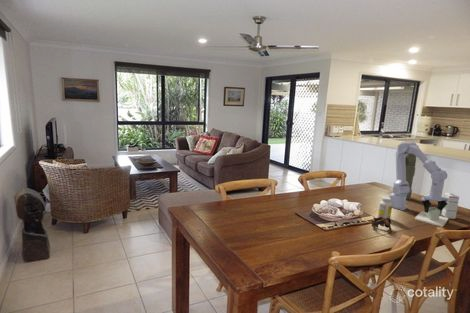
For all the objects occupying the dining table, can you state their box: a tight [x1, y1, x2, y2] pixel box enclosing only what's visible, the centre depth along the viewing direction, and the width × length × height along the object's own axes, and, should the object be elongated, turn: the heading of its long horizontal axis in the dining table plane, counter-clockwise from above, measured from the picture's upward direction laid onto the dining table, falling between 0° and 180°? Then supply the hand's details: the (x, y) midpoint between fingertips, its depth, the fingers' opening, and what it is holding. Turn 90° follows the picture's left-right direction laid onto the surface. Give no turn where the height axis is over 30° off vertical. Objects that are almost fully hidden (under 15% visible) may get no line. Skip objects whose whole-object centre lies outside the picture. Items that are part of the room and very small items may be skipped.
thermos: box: [405, 153, 417, 201], centre depth 208 cm, size 9×12×35 cm
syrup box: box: [440, 192, 460, 220], centre depth 176 cm, size 6×6×14 cm
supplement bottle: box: [377, 196, 393, 219], centre depth 170 cm, size 7×7×13 cm
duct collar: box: [424, 206, 441, 220], centre depth 171 cm, size 5×5×6 cm
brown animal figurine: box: [370, 216, 393, 235], centre depth 155 cm, size 12×10×8 cm
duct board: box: [414, 211, 449, 228], centre depth 171 cm, size 14×16×4 cm
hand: (432, 212), depth 171 cm, fingers open, 7 cm apart
